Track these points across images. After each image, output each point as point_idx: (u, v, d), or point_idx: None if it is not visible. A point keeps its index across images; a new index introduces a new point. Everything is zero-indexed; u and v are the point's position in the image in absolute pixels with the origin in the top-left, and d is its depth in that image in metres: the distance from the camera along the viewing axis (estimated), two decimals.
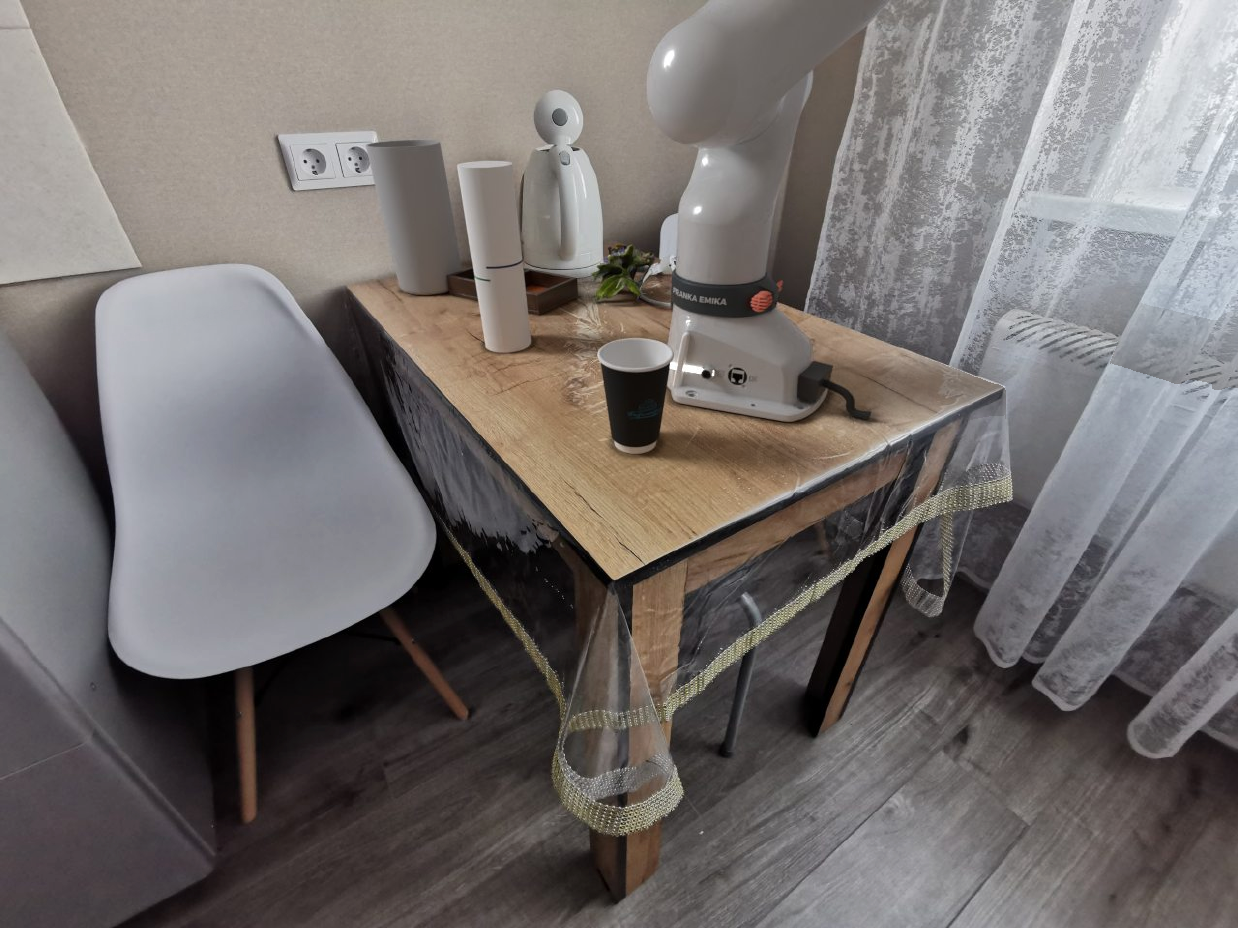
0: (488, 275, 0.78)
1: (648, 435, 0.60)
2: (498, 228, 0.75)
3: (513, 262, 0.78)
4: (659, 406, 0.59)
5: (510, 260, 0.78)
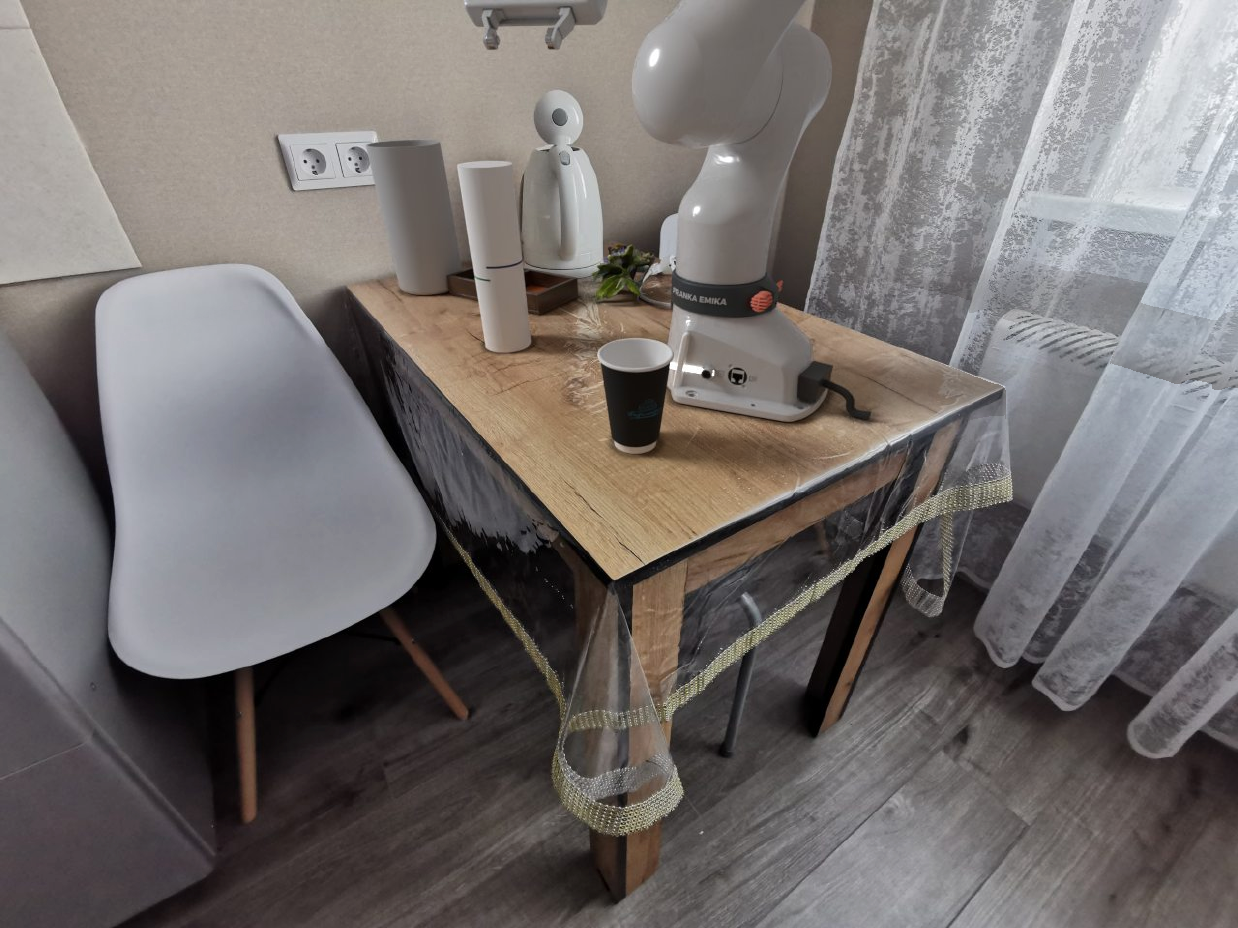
0: (488, 275, 0.78)
1: (648, 435, 0.60)
2: (498, 228, 0.75)
3: (513, 262, 0.78)
4: (659, 406, 0.59)
5: (510, 260, 0.78)
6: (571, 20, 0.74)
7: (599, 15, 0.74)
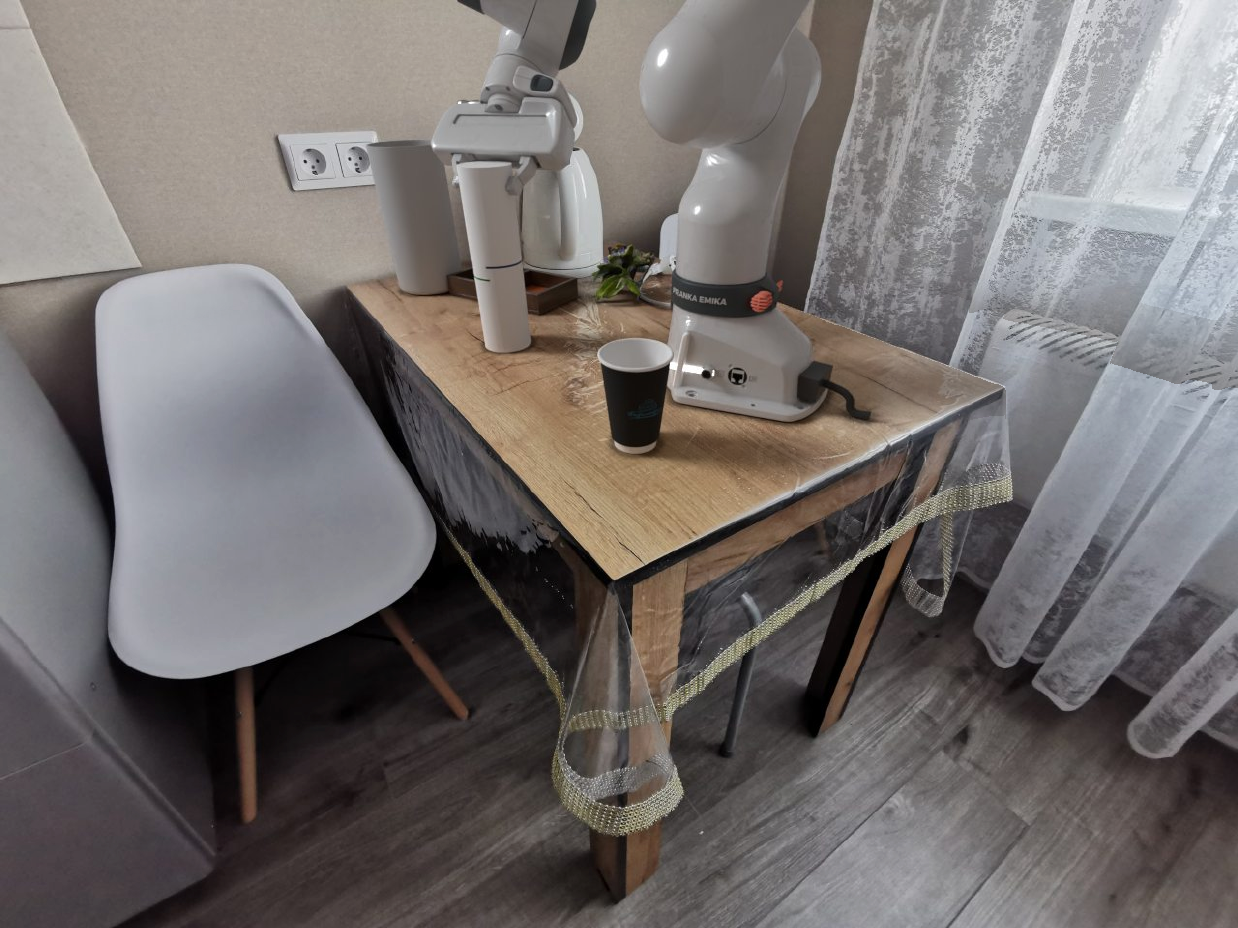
0: (488, 275, 0.78)
1: (648, 435, 0.60)
2: (497, 228, 0.75)
3: (513, 262, 0.78)
4: (659, 406, 0.59)
5: (510, 260, 0.78)
6: (532, 167, 0.73)
7: (564, 162, 0.73)
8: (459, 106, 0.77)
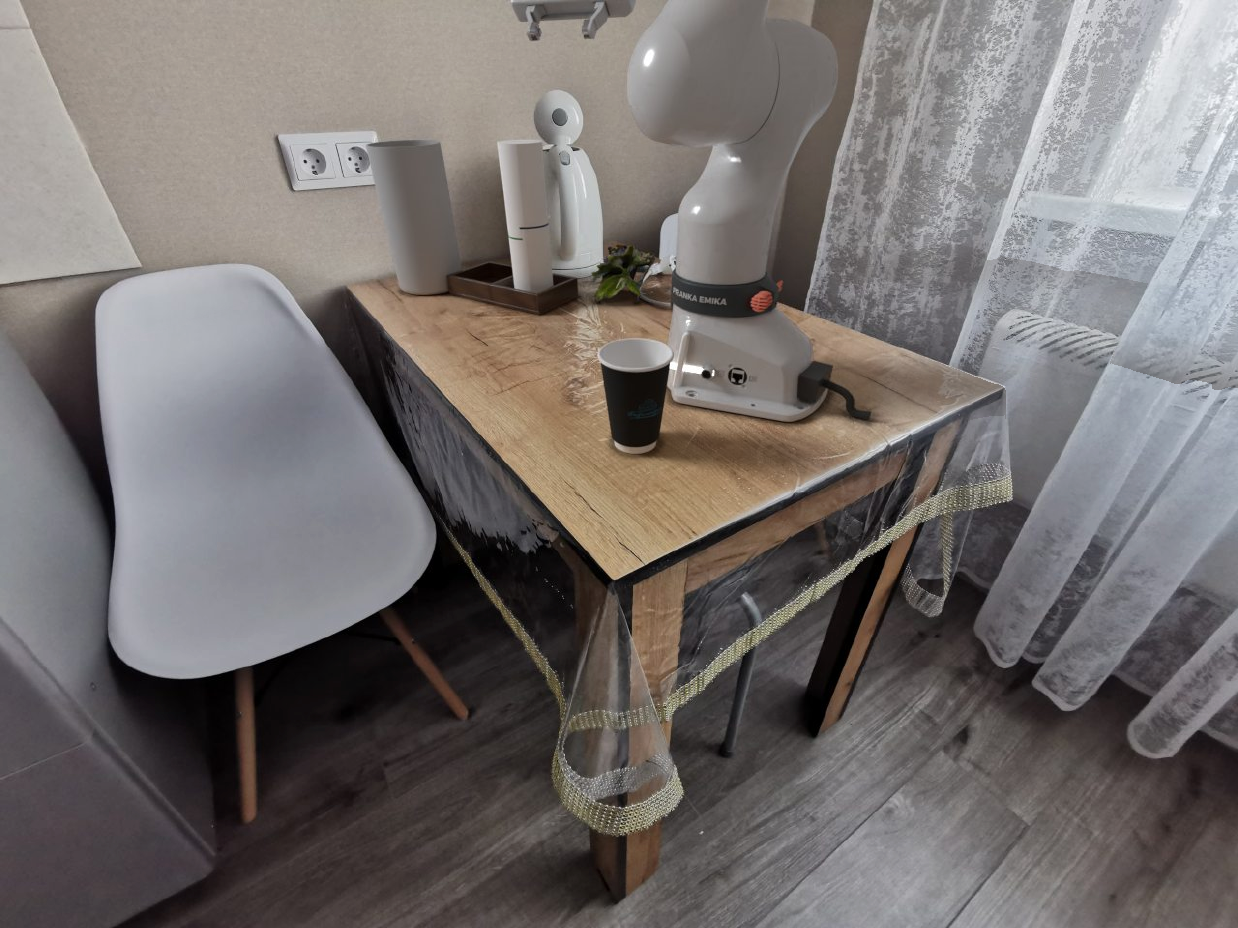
0: (521, 235, 0.94)
1: (648, 435, 0.60)
2: (530, 194, 0.91)
3: (541, 224, 0.95)
4: (659, 406, 0.59)
5: (539, 222, 0.94)
6: (605, 13, 0.84)
7: (629, 8, 0.83)
8: None
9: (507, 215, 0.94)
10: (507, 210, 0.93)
